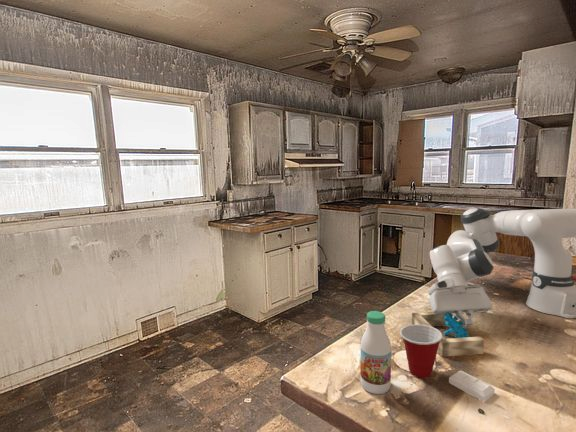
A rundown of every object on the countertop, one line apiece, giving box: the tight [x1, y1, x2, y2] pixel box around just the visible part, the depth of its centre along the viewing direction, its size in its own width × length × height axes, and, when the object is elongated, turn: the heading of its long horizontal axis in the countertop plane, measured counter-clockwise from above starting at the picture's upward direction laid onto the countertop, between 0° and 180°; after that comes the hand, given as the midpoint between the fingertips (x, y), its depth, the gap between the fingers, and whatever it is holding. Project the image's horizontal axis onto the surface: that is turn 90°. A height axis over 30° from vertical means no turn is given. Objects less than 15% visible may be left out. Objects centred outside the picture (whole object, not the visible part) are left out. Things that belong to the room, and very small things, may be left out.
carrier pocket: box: [411, 311, 485, 358], centre depth 107 cm, size 13×20×4 cm, turn 4°
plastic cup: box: [399, 324, 443, 379], centre depth 90 cm, size 11×11×12 cm
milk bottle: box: [359, 310, 392, 395], centre depth 84 cm, size 8×8×20 cm
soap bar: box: [448, 370, 496, 403], centre depth 84 cm, size 5×9×3 cm, turn 33°
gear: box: [443, 313, 470, 338], centre depth 109 cm, size 11×6×10 cm
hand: (469, 324), depth 108 cm, fingers closed
